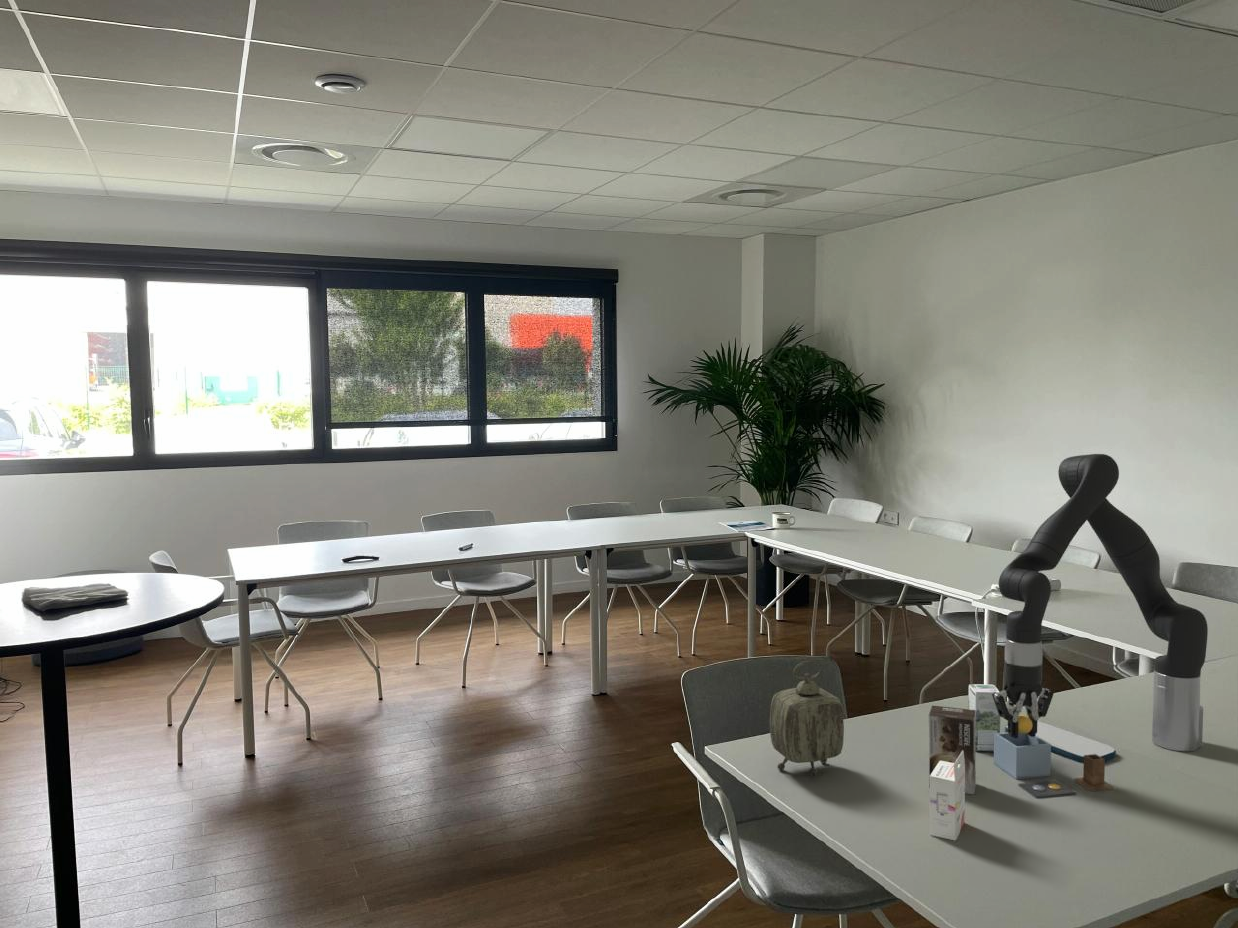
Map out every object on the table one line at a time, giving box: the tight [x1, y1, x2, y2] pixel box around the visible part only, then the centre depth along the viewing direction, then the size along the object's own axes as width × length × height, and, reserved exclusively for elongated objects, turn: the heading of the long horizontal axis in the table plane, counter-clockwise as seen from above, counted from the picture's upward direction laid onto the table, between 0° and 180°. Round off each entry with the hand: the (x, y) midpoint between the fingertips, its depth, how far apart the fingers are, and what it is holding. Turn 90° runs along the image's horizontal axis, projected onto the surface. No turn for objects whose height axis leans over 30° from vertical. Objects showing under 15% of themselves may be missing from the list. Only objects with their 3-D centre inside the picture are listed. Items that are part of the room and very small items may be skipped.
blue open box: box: [993, 731, 1052, 780], centre depth 195 cm, size 8×8×7 cm
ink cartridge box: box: [929, 750, 966, 841], centre depth 169 cm, size 9×5×15 cm, turn 148°
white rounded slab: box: [1004, 720, 1117, 765], centre depth 209 cm, size 24×12×2 cm, turn 29°
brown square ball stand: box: [1074, 754, 1114, 792], centre depth 187 cm, size 5×5×6 cm
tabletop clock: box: [769, 660, 845, 777], centre depth 196 cm, size 14×9×25 cm, turn 108°
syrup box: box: [967, 683, 1001, 753], centre depth 208 cm, size 6×6×14 cm
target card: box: [1018, 779, 1077, 799], centre depth 186 cm, size 9×6×1 cm, turn 100°
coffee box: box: [928, 705, 977, 795], centre depth 188 cm, size 9×6×16 cm
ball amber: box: [1017, 714, 1033, 734], centre depth 195 cm, size 4×4×4 cm
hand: (1022, 735), depth 195 cm, fingers closed on ball amber, 3 cm apart
